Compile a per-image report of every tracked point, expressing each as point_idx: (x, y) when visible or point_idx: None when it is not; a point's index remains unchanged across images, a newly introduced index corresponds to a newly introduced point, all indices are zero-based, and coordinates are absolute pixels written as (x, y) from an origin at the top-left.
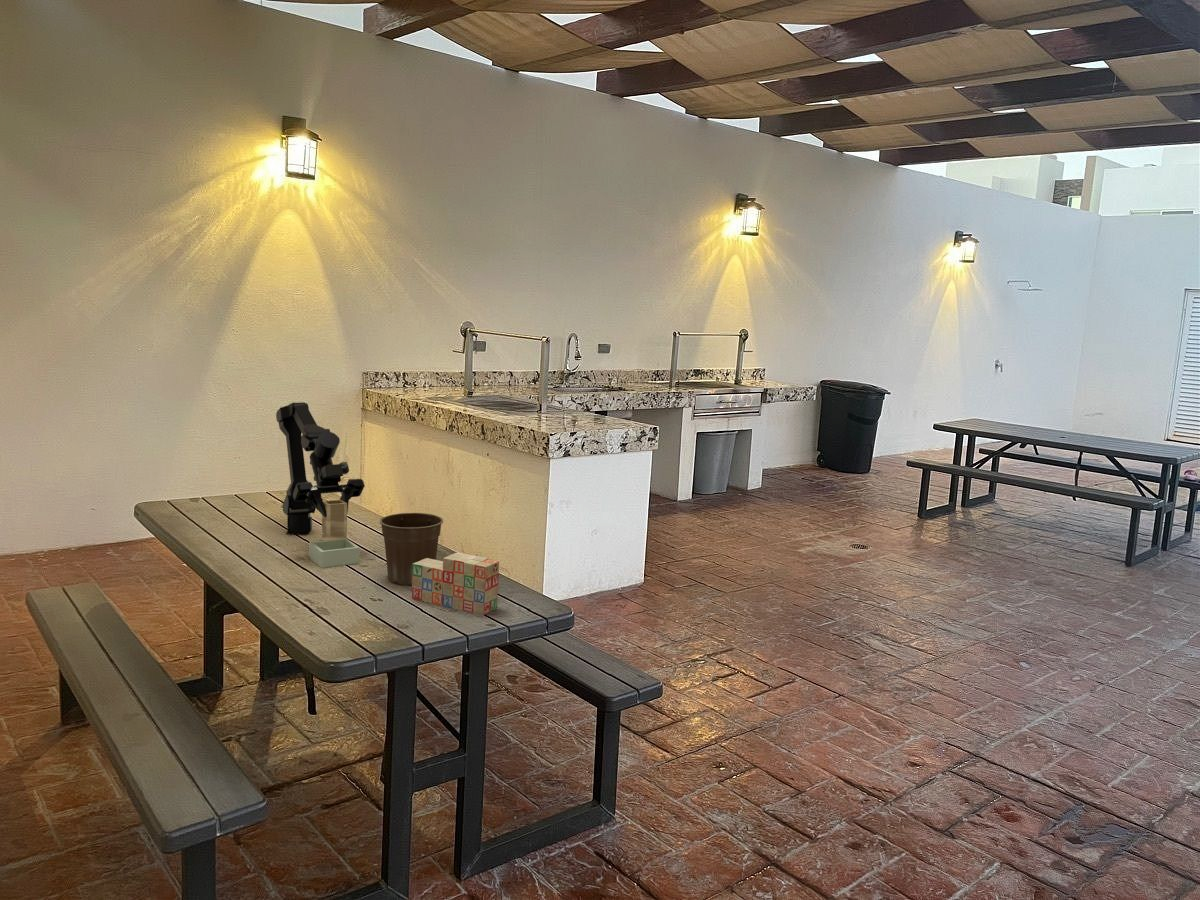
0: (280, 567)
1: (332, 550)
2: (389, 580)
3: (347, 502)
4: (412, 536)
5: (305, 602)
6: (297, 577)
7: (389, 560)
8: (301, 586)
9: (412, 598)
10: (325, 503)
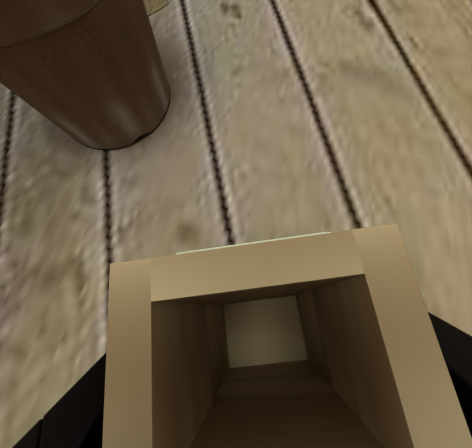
0: (454, 291)
1: (284, 238)
2: (169, 94)
3: (63, 407)
4: None
5: (371, 14)
6: (391, 173)
7: (152, 32)
8: (380, 103)
9: (167, 2)
10: (434, 339)
